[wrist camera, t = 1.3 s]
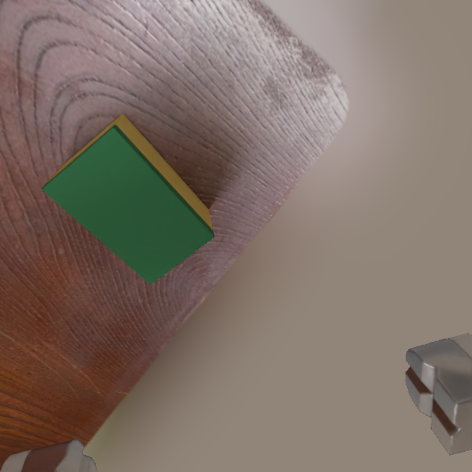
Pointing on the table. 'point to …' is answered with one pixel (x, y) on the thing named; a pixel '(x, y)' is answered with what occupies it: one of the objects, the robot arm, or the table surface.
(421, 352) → the robot arm
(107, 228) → the sponge
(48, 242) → the table surface
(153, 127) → the table surface
